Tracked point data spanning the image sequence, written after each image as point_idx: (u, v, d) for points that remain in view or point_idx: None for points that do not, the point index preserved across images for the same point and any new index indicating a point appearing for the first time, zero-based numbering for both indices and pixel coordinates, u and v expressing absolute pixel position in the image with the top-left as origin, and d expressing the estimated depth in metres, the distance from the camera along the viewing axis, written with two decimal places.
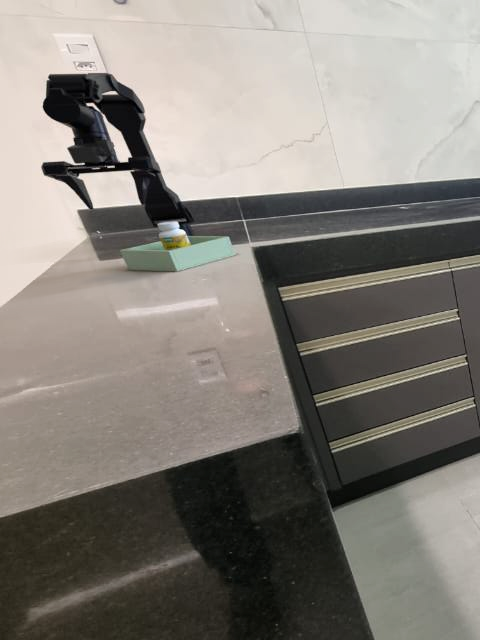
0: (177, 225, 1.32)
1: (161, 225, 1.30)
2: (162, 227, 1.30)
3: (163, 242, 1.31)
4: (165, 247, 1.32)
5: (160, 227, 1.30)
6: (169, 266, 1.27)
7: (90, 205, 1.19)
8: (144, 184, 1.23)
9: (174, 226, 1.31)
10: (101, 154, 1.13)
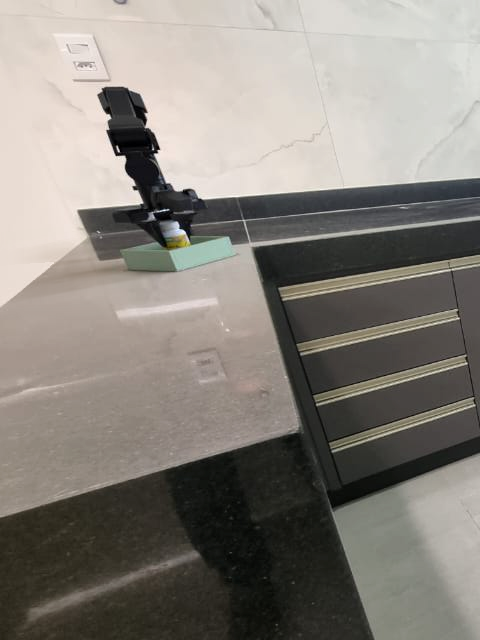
0: (177, 225, 1.32)
1: (161, 225, 1.30)
2: (162, 227, 1.30)
3: None
4: None
5: (160, 227, 1.30)
6: (169, 266, 1.27)
7: None
8: None
9: (174, 226, 1.31)
10: (194, 203, 1.30)
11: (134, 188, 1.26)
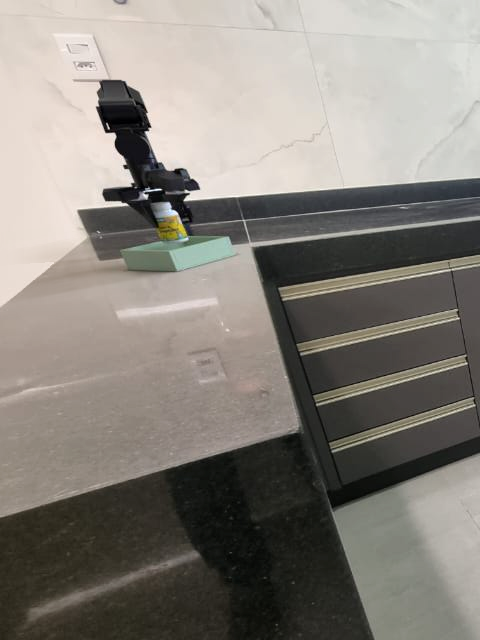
0: (169, 206, 1.30)
1: (152, 205, 1.28)
2: (153, 207, 1.28)
3: None
4: (157, 228, 1.29)
5: (151, 207, 1.28)
6: (169, 266, 1.27)
7: None
8: None
9: (166, 207, 1.29)
10: (186, 182, 1.28)
11: (125, 166, 1.24)
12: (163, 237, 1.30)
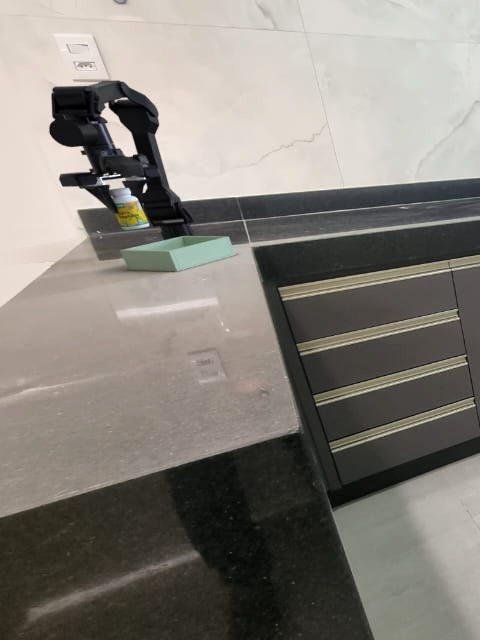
0: (128, 192, 1.31)
1: (111, 191, 1.29)
2: (112, 192, 1.29)
3: None
4: None
5: (110, 193, 1.29)
6: (169, 266, 1.27)
7: None
8: None
9: (125, 192, 1.30)
10: (144, 168, 1.29)
11: (83, 152, 1.25)
12: (123, 223, 1.32)
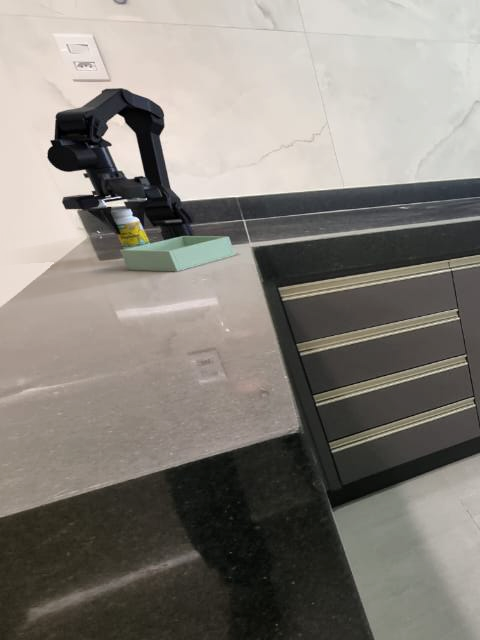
0: (130, 213, 1.34)
1: (113, 212, 1.32)
2: (114, 214, 1.32)
3: None
4: (118, 234, 1.34)
5: (112, 214, 1.32)
6: (169, 266, 1.27)
7: None
8: None
9: (127, 214, 1.33)
10: (145, 190, 1.32)
11: (85, 175, 1.28)
12: (124, 243, 1.34)
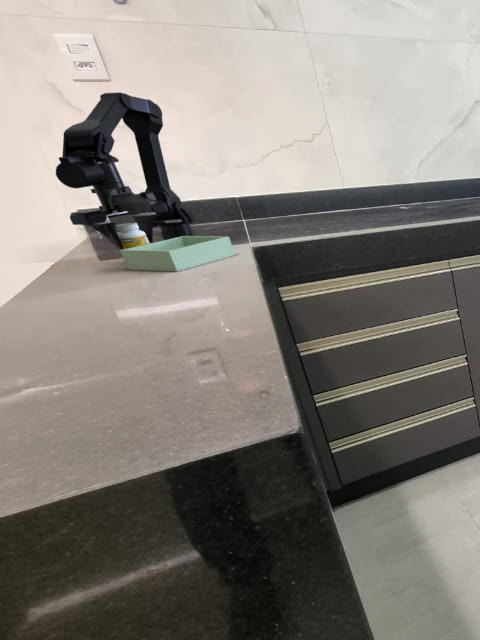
0: (136, 227, 1.35)
1: (120, 226, 1.33)
2: (121, 228, 1.33)
3: (122, 243, 1.34)
4: (124, 248, 1.35)
5: (119, 228, 1.33)
6: (169, 266, 1.27)
7: None
8: None
9: (133, 228, 1.35)
10: (152, 205, 1.34)
11: (93, 191, 1.29)
12: None
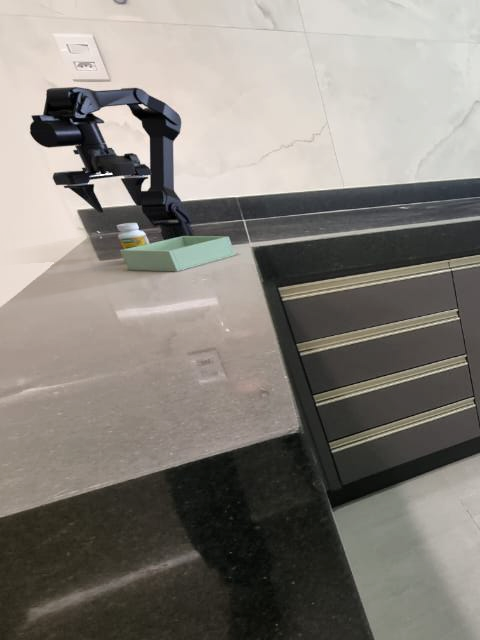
0: (136, 227, 1.35)
1: (120, 226, 1.33)
2: (121, 228, 1.33)
3: (122, 243, 1.34)
4: (124, 248, 1.35)
5: (119, 228, 1.33)
6: (169, 266, 1.27)
7: None
8: None
9: (133, 228, 1.35)
10: (136, 167, 1.33)
11: (75, 152, 1.29)
12: None
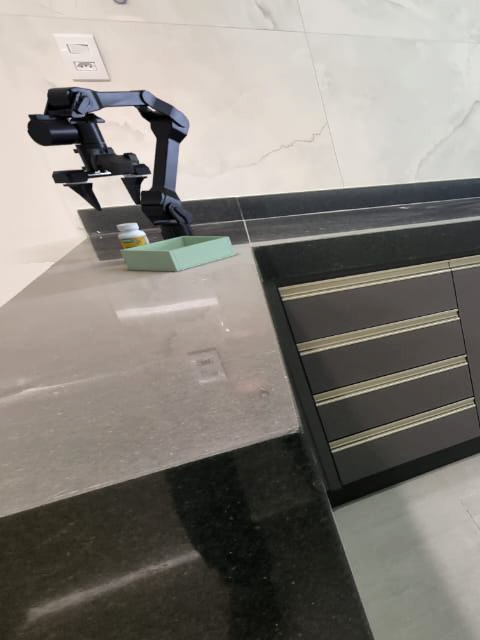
0: (136, 227, 1.35)
1: (120, 226, 1.33)
2: (121, 228, 1.33)
3: (122, 243, 1.34)
4: (124, 248, 1.35)
5: (119, 228, 1.33)
6: (169, 266, 1.27)
7: None
8: None
9: (133, 228, 1.35)
10: (134, 166, 1.34)
11: (75, 151, 1.30)
12: None
